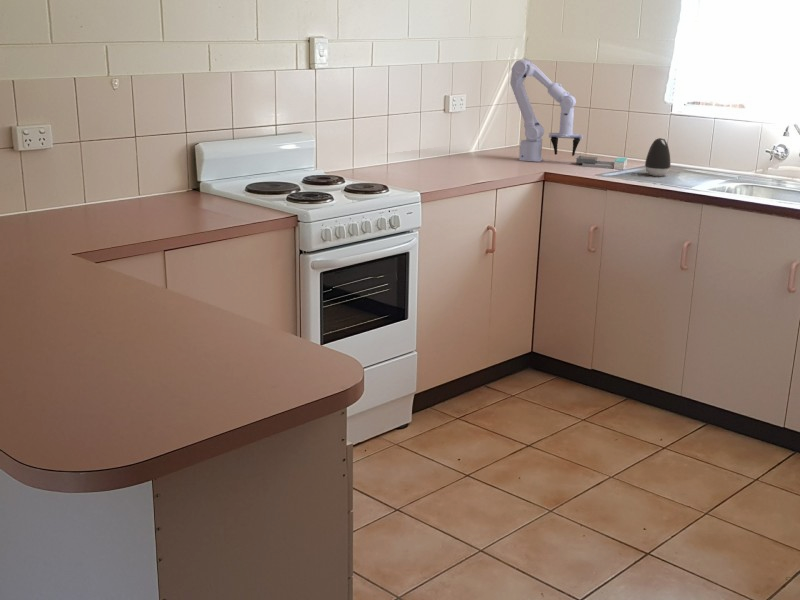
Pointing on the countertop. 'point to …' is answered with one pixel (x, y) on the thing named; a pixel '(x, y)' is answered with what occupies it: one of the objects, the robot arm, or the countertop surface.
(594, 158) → the trolley
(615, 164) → the dock
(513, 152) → the countertop surface
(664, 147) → the dark egg-shaped dome
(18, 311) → the countertop surface
